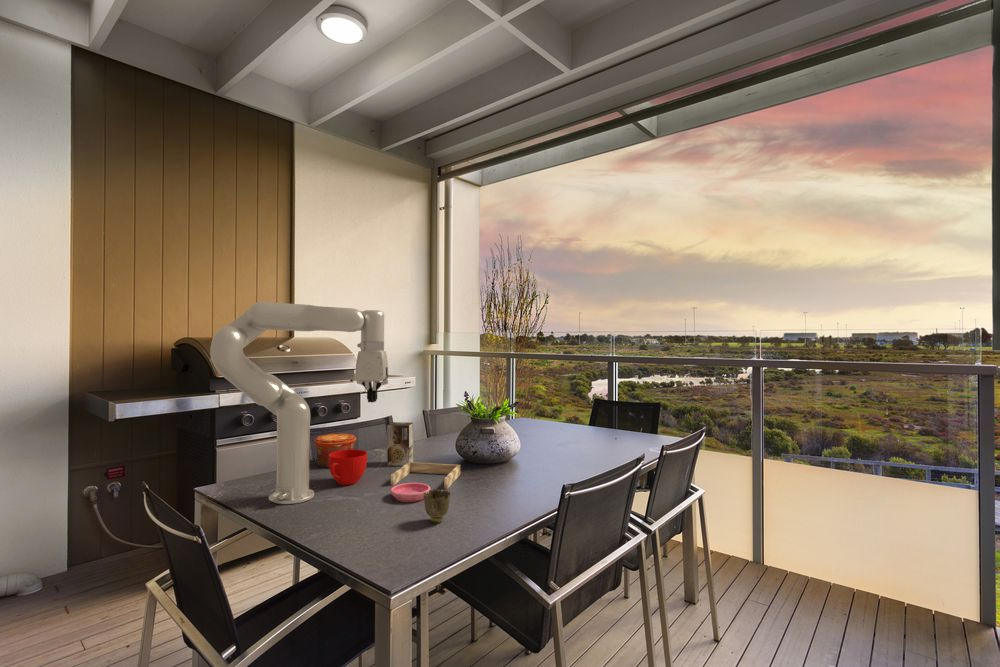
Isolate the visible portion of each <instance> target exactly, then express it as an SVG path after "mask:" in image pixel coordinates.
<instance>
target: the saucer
mask: <svg viewBox="0 0 1000 667" xmlns="http://www.w3.org/2000/svg"><path fill="white" fill-rule="evenodd" d="M429 490H431V486H430V485H429V484H425V483H423V482H422V483H421V482H406V483H399V484H395V485H394V486H393V487H391V489H390V494H391V496H393V497H394V498H395V500H396V501H398V502H401V503H415V502H420V501H424V493H425V492H426V494H427V493H428V494H429Z"/></svg>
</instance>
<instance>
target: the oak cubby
mask: <svg viewBox="0 0 1000 667" xmlns="http://www.w3.org/2000/svg"><path fill="white" fill-rule="evenodd" d="M410 473H417V474H437V475H438V474H439V475H446V477H444V482H443V484H444V485H443V486H444V487H443V488H444V489H445V490H448V489H449V488H450V487H451V485H452V484H453V483H454V482H455V481H456V480H457V479H458V478H459V477H460V476H461V464H451V463H450V464H449V463H433V462H418V461H415V462H414V461H413V462H408V463H407V464H406V465H404V466H400V468H399V469H397V470H396V471H395V472H393V473H391V475H390V486H393V487H394V486H396V485H397V483H399V482H400V481H401V480H402V479H404V478H405V477H406V476H408V475H409V474H410Z"/></svg>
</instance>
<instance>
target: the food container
mask: <svg viewBox="0 0 1000 667" xmlns="http://www.w3.org/2000/svg"><path fill="white" fill-rule="evenodd" d="M356 441H357V437H356V436H355V435H354V434H349V433H330V434H329V433H328V434H327V433H326V434H325V435H324V434H322V435H318V436H317V437H316V438H314V440H313V442H314V444H315V449H316V459H317V465H318V467H321V468H324V469H330V467H329V454H330V453H332V452H335V451H340V450H355V442H356Z"/></svg>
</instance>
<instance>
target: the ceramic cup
mask: <svg viewBox="0 0 1000 667" xmlns="http://www.w3.org/2000/svg"><path fill="white" fill-rule="evenodd" d="M367 463H368V452H367V451H366V450H361V449H354V450H340V451H335V452H332V453H330V454H329V467H330V468H329V472H330V475H331V476H332V478H333V479H334V481H336V482H337V484H338V485H341V486H349V485H350V486H351V485H355V484H358V483H359V481H360V479H361V478H362V477H363V476H364V474H365V472H366V468H367Z"/></svg>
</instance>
